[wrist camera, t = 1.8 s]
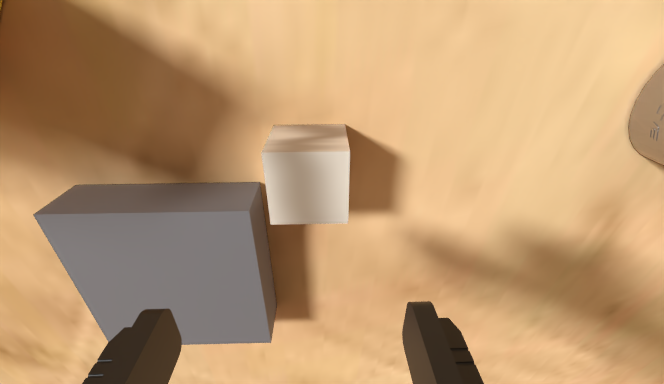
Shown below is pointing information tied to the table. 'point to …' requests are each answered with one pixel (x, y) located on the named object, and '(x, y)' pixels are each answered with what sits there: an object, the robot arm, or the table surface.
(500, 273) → the table surface
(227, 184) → the block
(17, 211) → the table surface
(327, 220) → the ash cube
